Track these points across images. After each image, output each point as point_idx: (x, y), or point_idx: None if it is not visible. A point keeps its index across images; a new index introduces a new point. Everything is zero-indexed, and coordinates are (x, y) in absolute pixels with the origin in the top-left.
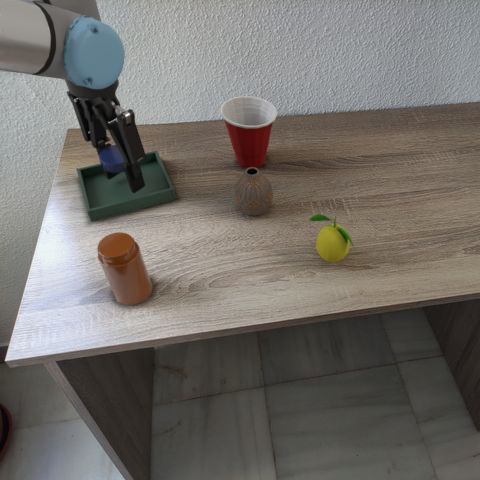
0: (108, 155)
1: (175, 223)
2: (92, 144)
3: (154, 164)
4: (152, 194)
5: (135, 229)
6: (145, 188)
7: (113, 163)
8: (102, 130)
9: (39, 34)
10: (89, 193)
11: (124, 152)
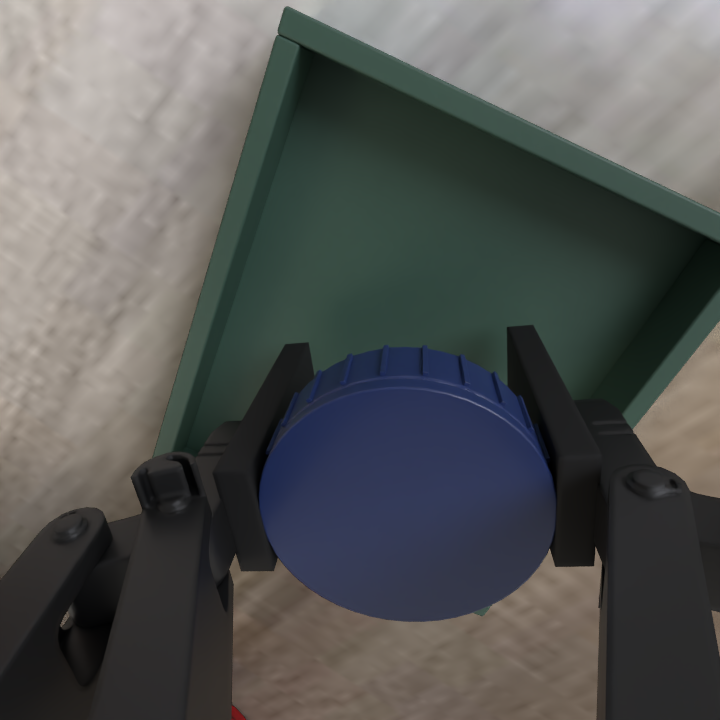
0: (440, 469)
1: (23, 340)
2: (663, 486)
3: None
4: (171, 397)
5: (89, 180)
6: None
7: (303, 431)
8: (598, 716)
9: None
10: (539, 173)
11: (121, 595)
